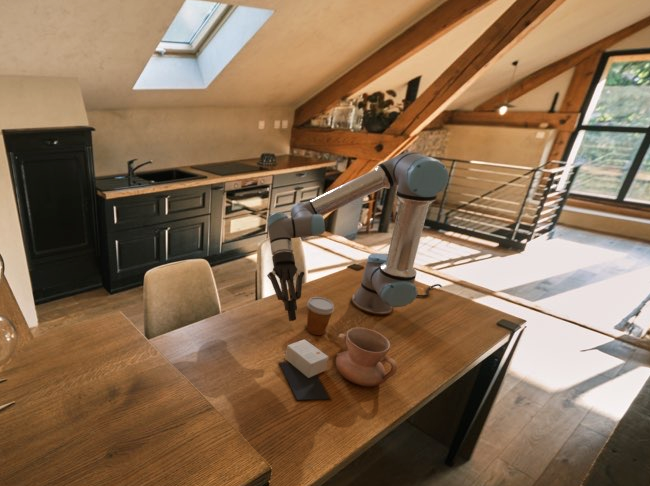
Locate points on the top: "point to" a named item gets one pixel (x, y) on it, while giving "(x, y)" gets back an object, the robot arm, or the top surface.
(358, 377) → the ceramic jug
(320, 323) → the disposable coffee cup
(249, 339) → the top surface
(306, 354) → the small box
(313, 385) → the mat
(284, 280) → the robot arm
